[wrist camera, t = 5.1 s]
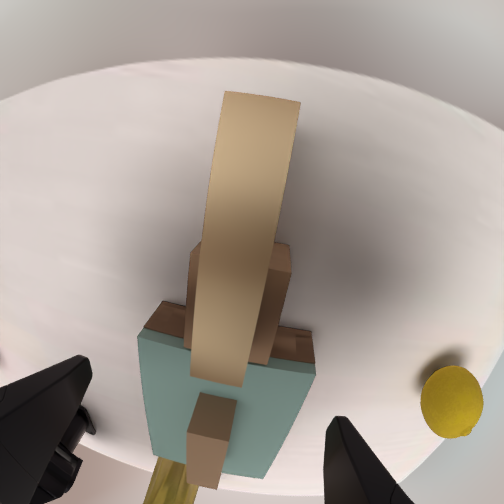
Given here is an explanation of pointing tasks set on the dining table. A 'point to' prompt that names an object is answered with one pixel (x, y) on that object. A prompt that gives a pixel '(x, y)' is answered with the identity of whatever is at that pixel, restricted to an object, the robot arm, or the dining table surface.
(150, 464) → the dining table surface
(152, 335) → the lid
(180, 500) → the vase
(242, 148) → the tan rectangular bar
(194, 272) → the brown box
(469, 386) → the lemon
